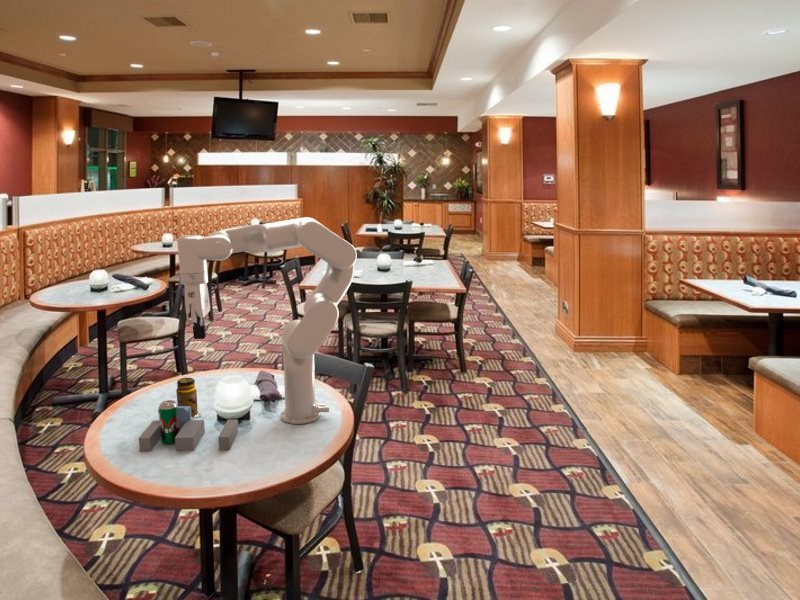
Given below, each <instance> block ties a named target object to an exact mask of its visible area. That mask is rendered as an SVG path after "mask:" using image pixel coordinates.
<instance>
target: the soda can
mask: <svg viewBox="0 0 800 600" xmlns="http://www.w3.org/2000/svg"><path fill="white" fill-rule="evenodd" d="M176 402H177V401H176V400H171V399H169V400H168V399H166V400H164V401H160V403H159V406H158V410H159V413H158V416H159V421H160V431H161V438H160V439H161V440H160V442H161V443H162V444H164V445H168V446H169V445H174V444H175V437H176V436H177V434H178V433H179V422H178V409H177V407H178V405H177V403H176Z"/></svg>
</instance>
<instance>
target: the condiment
mask: <svg viewBox="0 0 800 600" xmlns="http://www.w3.org/2000/svg"><path fill="white" fill-rule="evenodd" d="M195 382H196V381H195V379H194V378H193V377H181V378H179V379H178V380H177V382H176V384H177V387H176V402H177V403H176V404H177V407H180V406H191V417H194V416H195V415H197V414H198V412H199V410H198V409H199V408H198V406H199V405H198V396H197V395H198V393H197V387H196V384H195Z"/></svg>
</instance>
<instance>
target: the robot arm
mask: <svg viewBox="0 0 800 600" xmlns="http://www.w3.org/2000/svg"><path fill="white" fill-rule="evenodd" d="M296 248H304V249H305V250H307V251H308V252H309V253H311V254H313V255H314V256H316V257H318V258H319V259H321V260H322V261H324V262H326V264H327V267H326V271H325V273H324V275H323V276H322V278H321V280H320V281H319V283H318V284H317V286H316V287H315V289H314V290H313V291H312V292H311V294H310V295H309V297H307V299H306V300H305V302H304V305H303V313H304V315H303V317H302V318H301V319H294V320H290V321H289V322H287V323H286V324H285V326H284V328H283V330H282V333H281V343H282V353H283V355H282V356H283V357H282V358H283V376H284V377H283V379H284V381H283V383H284V384H283V385H284V407H285V408H284V409H283V410H282V411H281V412H280V419H281V420H282V422H285V423H287V424H292V425H304V424H309V423H312V422H315V421H317V420H318V419H319V418H320V417H321V413H330V406H328V405H327V404H326V403H322V404H319V403H318V399H316V386H315V382H316V381H315V354H316V353H317V352H318V350H319V349H320V347H321V346H322V345H323V343H324V342H325V341H326V339H327V338H328V336H329V335H330V334H331V332H332V331H333V329H334V328H335V326H336V325H337V322H338V320H339V316H340V315H339V314H340V313H339V308H338V305H339V303H340V302H341V301H342V299H343V298H344V296H345V294H346V293H347V292H348V289H349V287H350V286H351V284H352V283H353V282H352V281H353V278H354V274H355V273H354V272H355V263H356V261H357V256H358V255H357V250H356V248H355V246H354V245H353V244H351V243H350V242H348V241H347V240H345V239H344V238H342V237H341V236H339V235H338V234H336V233H335V232H333V231H332V230H330V229H329V228H327V227H325V225H323V224H322V223H320V222H319V221H317V220H316V219H314V218H312V217H299V218H294V219H288V220H287V219H286V220H282V221H275V222H269V223H262V224H255V225H249V226H242V227H241V226H240V227H234V228H228V229H227V228H226V229H222V230H221V229H220V230H216V231H213V232H212V233H209V235H208V236H203V235H200V234H186V235H182V236H179V237H178V239H177V253H178V254H177V255H178V263H179V271H180V272H179V273H180V274H179V275H180V284H181V285H184V305H185V314H186V317H187V318H188V319H191V324H192V333H193V339H194V340H205V338H207V333H206V324H205V323H206V322H205V321H206V320H205V317H206V316H207V315H208V314H209V312H210V311H211V303H210V302H211V301H210V295H209V289H208V288H209V287H208V283H209V275H208V273H209V272H208V263H207V261H216V262H218V261H220V262H221V261H224V260H225V261H226V260H227V259H228V258H229V257H230V256H231V255H232V254H235V253H237V254H238V253H243V252H251V251H252V252H253V251H255V252H261V253H274V252H279V251H285V250H289V249H296Z"/></svg>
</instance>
